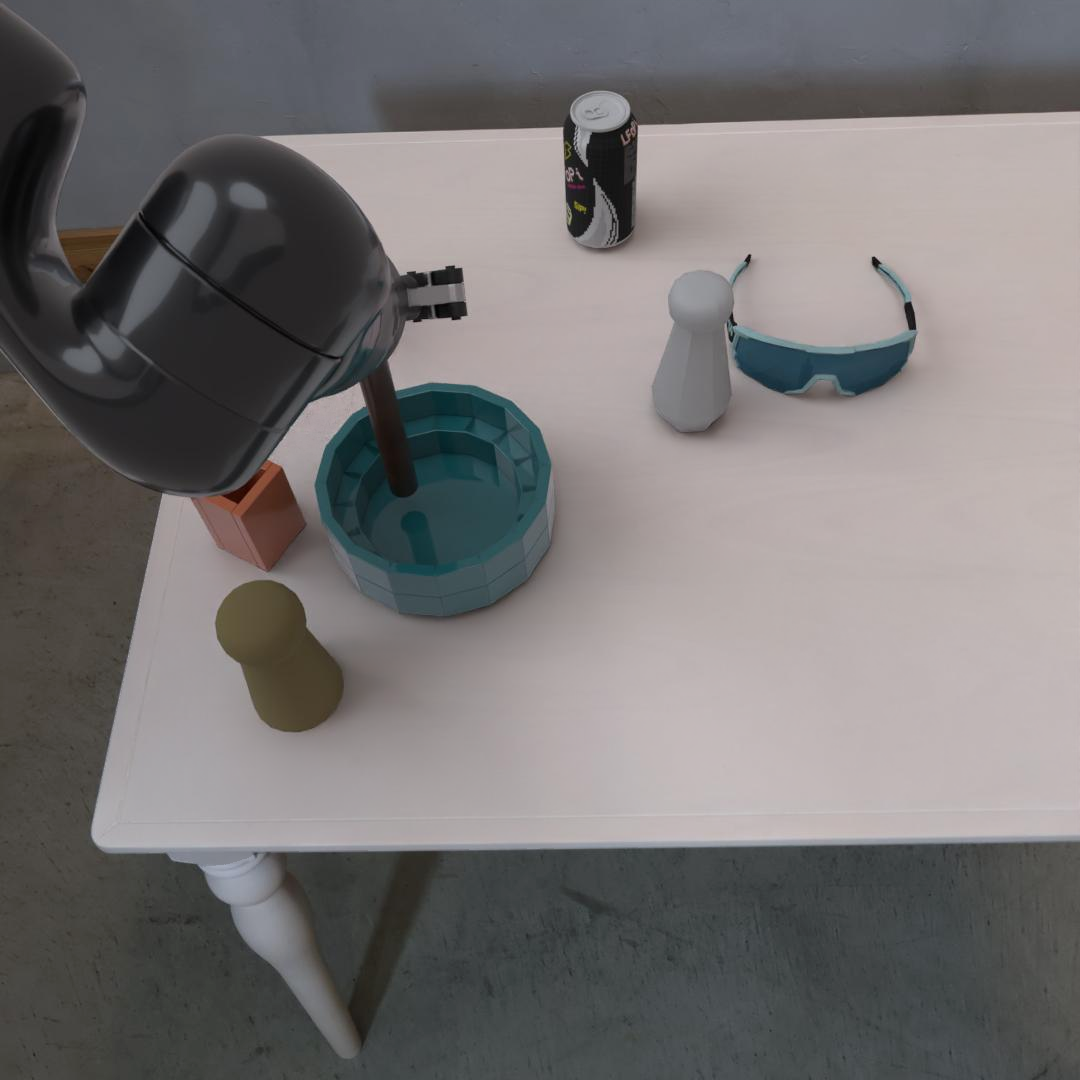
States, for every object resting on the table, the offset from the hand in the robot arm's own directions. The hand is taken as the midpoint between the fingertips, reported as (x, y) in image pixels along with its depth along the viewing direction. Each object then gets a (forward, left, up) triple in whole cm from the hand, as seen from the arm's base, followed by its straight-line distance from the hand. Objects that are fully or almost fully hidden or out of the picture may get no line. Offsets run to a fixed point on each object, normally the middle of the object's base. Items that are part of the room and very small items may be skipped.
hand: (361, 302), depth 66 cm
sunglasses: (+20, +28, -19) cm, 39 cm away
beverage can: (0, +30, -19) cm, 35 cm away
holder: (-7, -8, -19) cm, 22 cm away
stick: (+1, -2, -16) cm, 16 cm away
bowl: (+4, -1, -19) cm, 19 cm away
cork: (+3, -17, -19) cm, 26 cm away
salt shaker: (+15, +15, -19) cm, 29 cm away
